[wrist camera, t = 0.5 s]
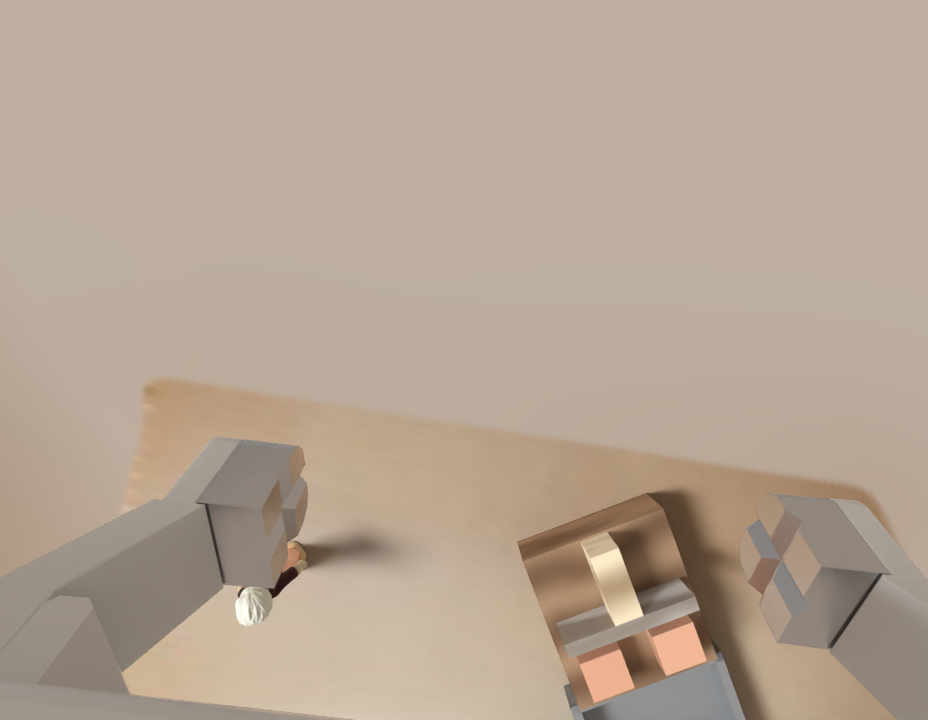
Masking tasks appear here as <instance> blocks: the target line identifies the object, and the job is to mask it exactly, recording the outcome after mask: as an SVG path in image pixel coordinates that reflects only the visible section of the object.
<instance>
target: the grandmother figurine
mask: <svg viewBox="0 0 928 720" xmlns="http://www.w3.org/2000/svg"><path fill="white" fill-rule="evenodd" d="M287 546H288V555H289V557H288V559H287V561H286V563H285V565H284V568H283V570H282V572H281V574H280V577H279V579H278V581H277V583H276V586H275V588H274V589H273V588H260V587H248V586H239V587H238V598H239V599H238V600H237V601H236V604H235V606H236V615H237V619H238V621H239V622H240V623H241V624H242V625H245V626H251V625H254V624H258V623H261V622H262V621H264V620H265V618H266V617H267V616H268V614H269V612H270V610H271V609H272V598H274V597H276V596H277V595H279V593H280V592H281V591H282V590H283V588H284V587H285V586H286V585H288V584H289V583H290V582H291V581H292V580H293V579H295V578H296V577H297V576H298V574H300V573H301V571H302V570H304V569H305V568H306V567H307V562H306V561H305V559H306V552H305V551H304V550H303V548H302V547H301V546H300V545H299V544H298V543H297V542H295V541H293V542H290V543H289V544H287Z"/></svg>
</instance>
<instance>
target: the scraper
mask: <svg viewBox="0 0 928 720" xmlns="http://www.w3.org/2000/svg"><path fill="white" fill-rule="evenodd" d="M581 544H582V547H583V549H584V552H585V555H586V557H587V560H588V563H589V565H590V568H591V571H592V573H593V576H594V579H595V581H596V584H597V587H598V589H599V592H600V595H601V597H602V600H603V603H604V605H603V606H601V607H598V608H595V609H593V610H590V611H587V612H585V613H582V614H579V615H577V616H574V617H572V618H569V619H566V620H564V621H561V622H558V623H557V626H558V629H559V632H560V635H561V638H562V640H563V643H564V646H565V649H566V652H567V654H568V657H569V659H570V658H573V657H576V656H578V655H581V654H584V653H586V652H589V651H592V650H594V649H597V648H600V647H602V646H605V645H608V644H610V643H613V642H616V641H618V640H621V639H624V638H626V637H629V636H632V635H634V634H637V633H640V632H642V631H645V630H648V629H650V628H653V627H656V626H658V625H661V624H664V623H667V622H669V621H672V620H675V619H677V618H680V617H683V616H685V615H688V614H691V613H693V612H696V611H699V610H700V608H699V606H698V603H697V600H696V597H695V596H694V594H693V593H692V592H691V591H690V590H689V589H688V588H687V587H686V585H685V584H684V583H683V582H682V581H681V580H680V579H679V577H678V578H675V579H673V580H670V581H667V582H665V583H662V584H659V585H657V586H654V587H651V588H649V589H646V590H643V591H641V592H638V593H635V591H634V588H633V586H632V583H631V580H630V577H629V575H628V572H627V569H626V567H625V564H624V561H623V558H622V556H621V553H620V550H619V548H618V546H617V545H616V544H615V542H614V541H613V540H612V538H611V537H610V535H609V534H608V533H607V532H606V533H603V534H600V535H598V536H595V537H592V538H590V539H587V540H584V541H582V542H581Z"/></svg>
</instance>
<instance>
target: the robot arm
mask: <svg viewBox="0 0 928 720" xmlns="http://www.w3.org/2000/svg"><path fill="white" fill-rule="evenodd" d="M304 465H305V461H304V453H303V449H302V448H301V447H299V446H294V445H286V444H278V443H270V442H261V441H253V440H241V439H233V438H225V437H216V438H214V439H212V440H210V441H209V442H208V444H207V445H206V446H205V447H204V449H203V450H202V451H201V453H200V454H199V455H198V456H197V458H196V459H195V460H194V461H193V463H192V464H191V465H190V466H189V468H188V469H187V470H186V471H185V473H184V474H183V475H182V476H181V478H180V479H179V480H178V481H177V483H176V484H175V485H174V487H173V488H172V489H171V490H170V492H169V493H168V494H167V495H166V497H165V498H164V499H163V500H156V499H154V500H152V501H150V502H148V503H146V504H144V505H142V506H140V507H138V508H136V509H134V510H132V511H130V512H128V513H126V514H124V515H122V516H120V517H118V518H116V519H114V520H112V521H110V522H108V523H106V524H104V525H102V526H100V527H98V528H97V529H94V530H92V531H90V532H89V533H87V534H85V535H83V536H81V537H79V538H77V539H75V540H73V541H71V542H69V543H67V544H65V545H63V546H61V547H59V548H57V549H55V550H53V551H51V552H49V553H47V554H45V555H43V556H41V557H39V558H37V559H35V560H33V561H31V562H30V563H28V564H25V565H24V566H21V567H20V568H18V569H16V570H14V571H12V572H10V573H8V574H6V575H4V576H2V577H0V720H352V719H343V718H334V717H326V716H317V715H308V714H299V713H290V712H281V711H273V710H264V709H255V708H246V707H237V706H228V705H220V704H211V703H202V702H193V701H184V700H175V699H166V698H158V697H149V696H140V695H131V692H130V690H129V688H128V686H127V683H126V681H125V679H124V676H123V674H122V672H123V671H124V670H125V669H127V668H128V667H129V666H130V665H131V664H133V663H134V662H135V661H136V660H137V659H139V658H140V657H141V656H142V655H143V654H145V653H146V652H147V651H148V650H149V649H151V648H152V647H153V646H154V645H155V644H157V643H158V642H159V641H160V640H161V639H163V638H164V637H165V636H166V635H167V634H169V633H170V632H171V631H172V630H173V629H175V628H176V627H177V626H178V625H179V624H181V623H182V622H183V621H184V620H185V619H187V618H188V617H189V616H190V615H191V614H193V613H194V612H195V611H196V610H197V609H199V608H200V607H201V606H202V605H203V604H205V603H206V602H207V601H208V600H209V599H211V598H212V597H213V596H214V595H215V594H217V593H218V592H219V591H220V590H221V589H222V588H223V585H235V586H248V587H260V588H273V589H274V588H275V586H276V583H277V581H278V579H279V577H280V574H281V572H282V570H283V568H284V565H285V563H286V561H287V559H288V557H289V555H288V546H287V543H288V542H289V541H291V540H292V539H293V538H295V537H296V536H298V534H299V531H300V529H301V527H302V524H303V521H304V517H305V513H306V508H307V498H308V491H307V483H306V482H305V481H304V479H303V478H302V477H301V476H300V473H301V471H302V469H303V467H304ZM755 512H756V514H757V516H758V518H759V520H758V521H756V522H755V523H753V524H752V525H750V526H748V527H747V528H746V529H745V532H744V534H743V537H742V539H741V542H740V560H741V565H742V569H743V572H744V574H745V576H746V578H747V581H748V583H749V584H751V585H752V586H753V587H754V588H755V589H756V590H758V591H759V592H760V593H761V594H762V595H763V596H762V599H761V602H760V605H759V606H760V608H761V610H762V613H763V615H764V617H765V619H766V621H767V623H768V625H769V627H770V629H771V631H772V634H773V636H774V638H775V640H776V642H777V643H784V644H792V645H799V646H807V647H814V648H821V649H829V650H831V651H830V653H831V654H832V655H833V656H834V657H835V658H836V659H837V660H838V661H839V662H840V663H841V664H842V665H843V666H844V667H845V668H846V669H847V670H848V671H849V672H850V673H851V674H852V675H853V676H854V677H855V678H856V679H857V680H858V681H859V682H860V683H861V684H862V685H863V686H864V687H865V688H866V689H867V690H868V691H869V692H870V693H871V694H872V695H873V696H874V697H875V698H876V699H877V700H878V701H879V702H880V703H881V704H882V705H883V706H884V707H885V708H886V709H887V710H888V711H889V712H890V713H891V714H892V715H893V716H894V717H895V718H896V719H897V720H928V579H926V577H925V576H924V575H923V574H922V573H921V572H920V570H919V569H918V568H917V567H916V565H915V564H914V563H913V562H912V561H911V559H910V558H909V557H908V556H907V554H906V553H905V552H904V551H903V550H902V548H901V547H900V546H899V545H898V544H897V542H896V541H895V540H894V539H893V537H892V536H891V535H890V534H889V533H888V531H887V530H886V529H885V528H884V527H883V525H882V524H881V523H880V522H879V521H878V519H877V518H876V517H875V516H874V514H873V513H872V512H871V511H870V510H869V508H868V507H867V506H865V505H864V504H862V503H860V502H859V501H856V500H844V499H831V498H826V499H823V498H813V497H803V496H792V495H781V494H771V493H766V494H765V495H764V496H763V497H762V498H760V500H759V502H758V504H757V506H756V508H755Z"/></svg>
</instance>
